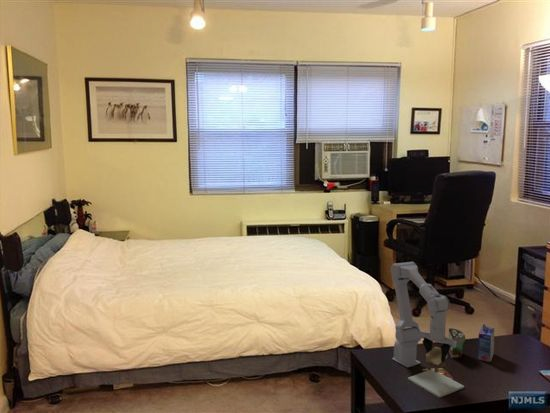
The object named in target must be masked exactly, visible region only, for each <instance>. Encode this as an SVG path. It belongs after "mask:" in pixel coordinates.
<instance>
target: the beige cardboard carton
mask: <svg viewBox="0 0 550 413" xmlns="http://www.w3.org/2000/svg"><path fill="white" fill-rule="evenodd" d="M448 354H449V352H448V353H447V356H446V359H447V358H448ZM441 357H442V352H441V347H437V346H434V347H432V350H431V351H429V352H428V353H427V352H426V353H425V362H427V371H428V370H431V369H432V364H433V365H434V369H433V370H434V372H436V373H437V372H439V366H441V367H445V366H446V360H445V361H444V362H441ZM440 364H441V365H440Z"/></svg>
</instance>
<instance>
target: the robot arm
mask: <svg viewBox="0 0 550 413" xmlns="http://www.w3.org/2000/svg"><path fill="white" fill-rule="evenodd" d="M390 274H391V281H392V283H394V288H395V289H394V290H395V295H396V301H397V302H396V303H397V308H398V315H399V322H398V323H397V324H396V325H395V340H396V341H395V342H394V344H393V357H392V360H393V361H395V362H397V363H399V364H401V365H402V366H404V367H406V368H410V367H414V366H416V365H419V364H422V363H421V361H419V360H417V349H418V348H417V346H418V344H419V342H420V341H421V340H422V339H423V340H422V345H423V346H424V349H425V352H426V354H427V353H428V352H429V351H431V350H432V349H433V343H434V342H435V343H439V344H442V345H441V346H440V348H441V352H442V357H441V362H444V361H445V362H446V359H447V358H446V356H447V357H448V354H449V349H450V348H451V346H452V347H453V348H455V347H456V343H457V342H456V341H453V340H451V339H449V337H447V336H446V327H447V326H446V321H447V311H448V310H450V308H451V303H450V299H449V298H448V297H447V296H446V295H442V294H440V293H439V292H438V290H436V288H435V287H434V286H433V285H432V284H431V283H427V282H426V281H425V279H424V278H423V277H422V275H421V273H419V267H418V266H417V264H416V263H415V262H414V261H407V262H397V263H395V262H394V263H393V264H392V265H391V268H390ZM409 281H412V283H413V284H415V286H416V287H417V288H418V289H419V291H418V292H419V294H420V295H421V296H422V297H423V299H424V300H425V301H426V303H427V308H428V313H429V316H430V319H429V320H430V322H429V332H423V331H421V328H420V327H419V326H420V325H419V323H418V322H416V321H415V320H413V314H412V308H411V302H410V294H409V292H408V286H407V285H408V283H409ZM447 353H448V354H447Z"/></svg>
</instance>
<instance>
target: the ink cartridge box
mask: <svg viewBox="0 0 550 413" xmlns="http://www.w3.org/2000/svg"><path fill="white" fill-rule="evenodd" d="M477 350H478V351H477V353H478V355H477V357H478V358H477V359H478V360H480V361H485V362H489V363H490V362H492V359H493V357H494V354H495V328H494V327H489V326H486V324H485V323H484V324H483V325H482V327H481V328H480V331H479V333H478V349H477Z"/></svg>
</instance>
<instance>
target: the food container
mask: <svg viewBox="0 0 550 413" xmlns="http://www.w3.org/2000/svg"><path fill="white" fill-rule="evenodd" d="M448 338H449V339H451V340H453V341H456V342H457V343H456V347H455V348H453V347H452V346H451V348H450V349H449V351H448V353H449V354H450V358H451V359H459V357H460V358H461V357H463V349H464V343H465V341H466V335H465V333H464V332H463V331H462V330H460V329H457V328H451V327H449V328H448Z"/></svg>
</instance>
